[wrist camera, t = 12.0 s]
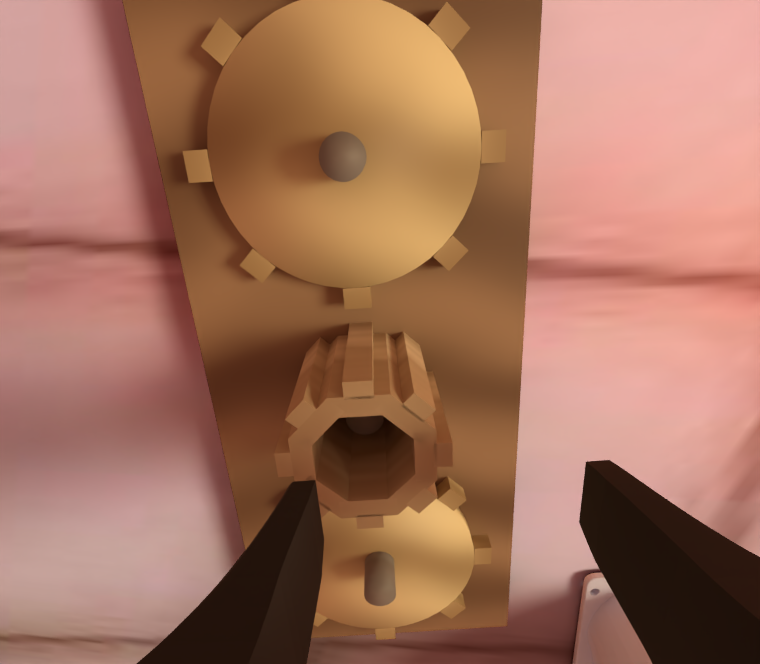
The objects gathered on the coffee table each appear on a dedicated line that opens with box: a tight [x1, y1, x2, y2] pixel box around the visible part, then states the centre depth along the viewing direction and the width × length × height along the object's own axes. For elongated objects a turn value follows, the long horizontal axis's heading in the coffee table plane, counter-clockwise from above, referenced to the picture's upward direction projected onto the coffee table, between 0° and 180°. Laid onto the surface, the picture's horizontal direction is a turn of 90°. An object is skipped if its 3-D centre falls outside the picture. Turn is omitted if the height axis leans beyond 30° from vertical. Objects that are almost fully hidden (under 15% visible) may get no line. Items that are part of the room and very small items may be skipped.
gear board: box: [122, 0, 542, 640], centre depth 19 cm, size 30×13×4 cm, turn 4°
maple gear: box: [274, 322, 453, 529], centre depth 17 cm, size 6×6×5 cm
